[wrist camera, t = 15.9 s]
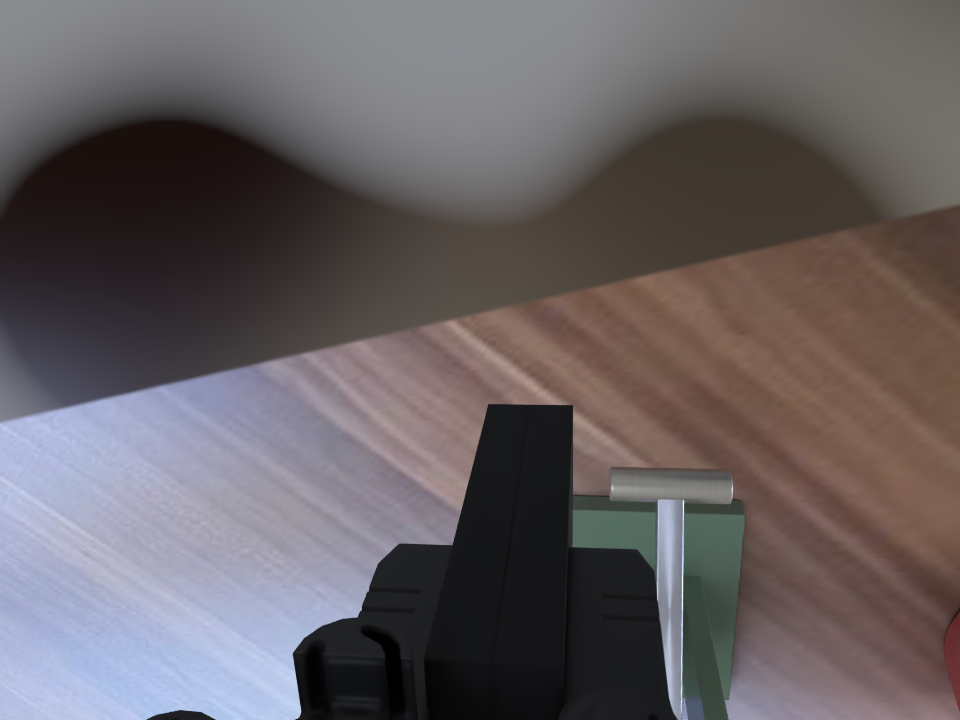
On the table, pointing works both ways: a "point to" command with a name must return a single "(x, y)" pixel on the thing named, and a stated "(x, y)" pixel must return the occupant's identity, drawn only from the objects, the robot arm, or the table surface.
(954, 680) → the flower pot
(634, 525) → the bracket
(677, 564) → the lever
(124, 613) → the table surface
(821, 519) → the table surface
